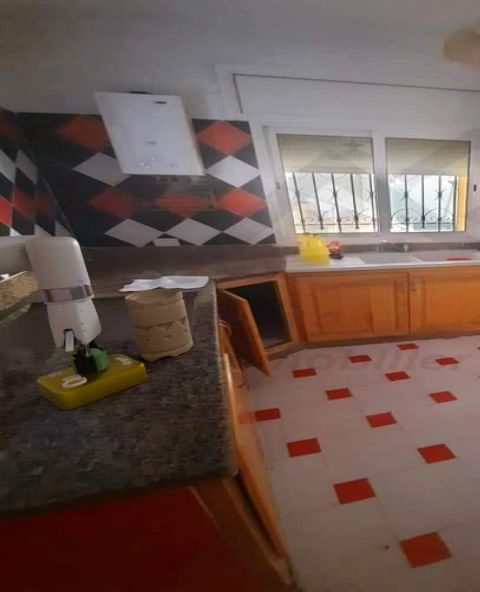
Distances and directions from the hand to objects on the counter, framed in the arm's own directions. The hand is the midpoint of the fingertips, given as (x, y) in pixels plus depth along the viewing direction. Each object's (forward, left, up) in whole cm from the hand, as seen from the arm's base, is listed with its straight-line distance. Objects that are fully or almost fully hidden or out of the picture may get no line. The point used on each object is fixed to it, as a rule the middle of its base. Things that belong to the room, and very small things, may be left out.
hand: (92, 367), depth 74 cm
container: (+11, +16, -5) cm, 20 cm away
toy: (0, 0, 0) cm, 0 cm away
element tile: (0, 0, -5) cm, 5 cm away
